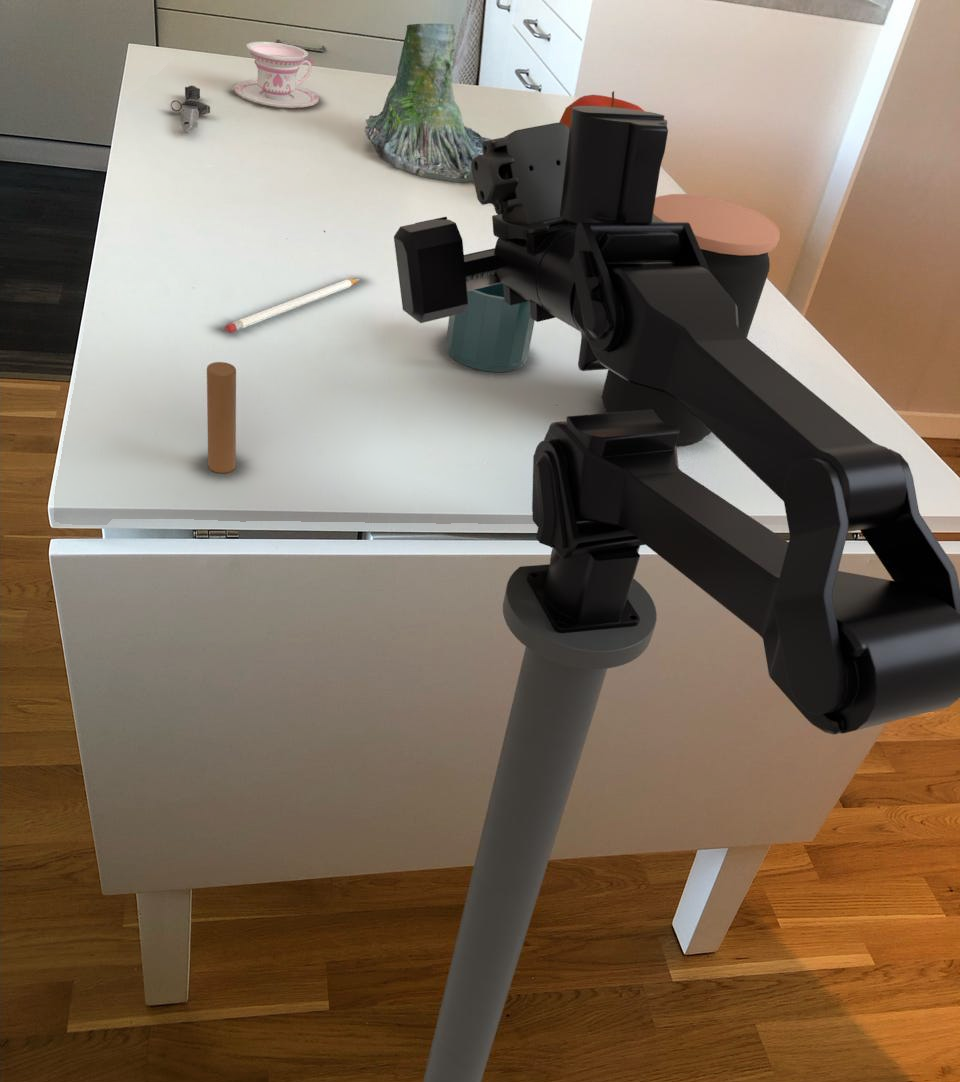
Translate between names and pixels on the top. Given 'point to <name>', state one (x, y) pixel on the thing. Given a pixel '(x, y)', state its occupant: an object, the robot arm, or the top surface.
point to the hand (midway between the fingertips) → (476, 225)
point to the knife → (191, 108)
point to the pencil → (289, 305)
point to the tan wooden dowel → (221, 416)
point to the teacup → (277, 76)
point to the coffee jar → (735, 262)
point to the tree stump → (425, 111)
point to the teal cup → (490, 331)
